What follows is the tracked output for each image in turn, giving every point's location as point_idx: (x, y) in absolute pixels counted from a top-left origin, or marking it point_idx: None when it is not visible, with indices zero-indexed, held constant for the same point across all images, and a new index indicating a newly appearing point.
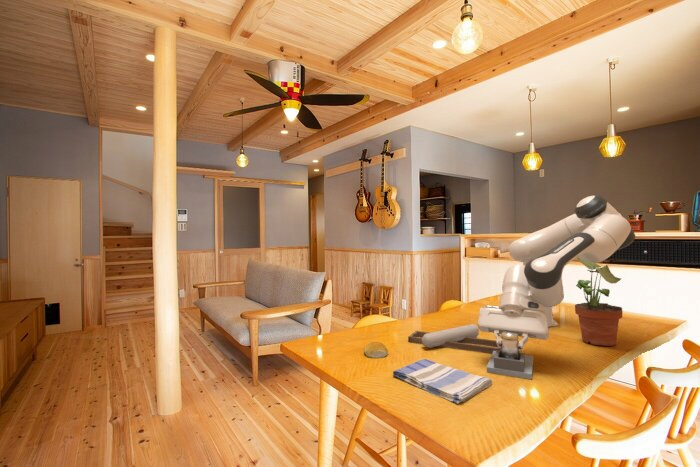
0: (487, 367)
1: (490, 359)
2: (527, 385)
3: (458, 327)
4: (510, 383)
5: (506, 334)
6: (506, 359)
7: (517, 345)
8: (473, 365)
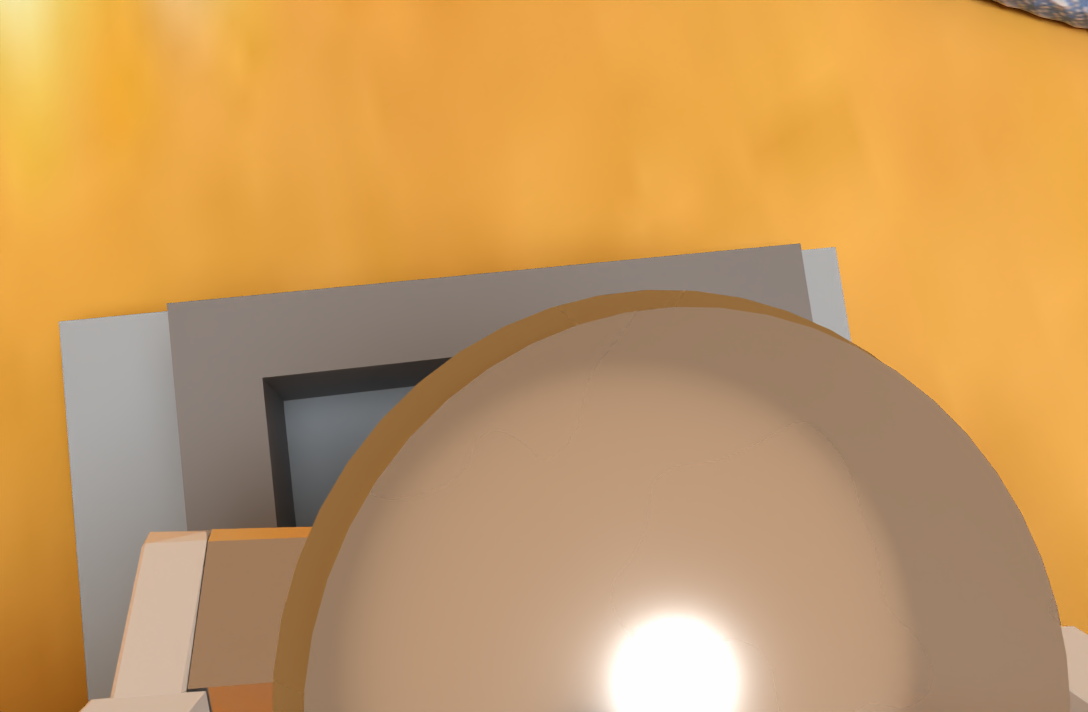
0: (821, 251)
1: None
2: (125, 64)
3: None
4: (377, 14)
5: (770, 341)
6: (542, 277)
7: None
8: (1058, 443)
